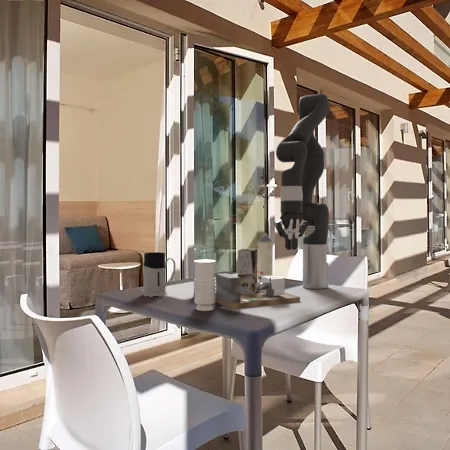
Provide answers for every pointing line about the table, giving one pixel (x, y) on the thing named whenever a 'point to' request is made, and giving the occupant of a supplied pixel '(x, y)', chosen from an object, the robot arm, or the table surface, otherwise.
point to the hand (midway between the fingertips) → (291, 249)
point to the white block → (272, 284)
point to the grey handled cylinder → (155, 274)
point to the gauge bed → (232, 298)
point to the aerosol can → (264, 256)
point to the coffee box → (247, 270)
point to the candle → (204, 284)
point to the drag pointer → (270, 291)
